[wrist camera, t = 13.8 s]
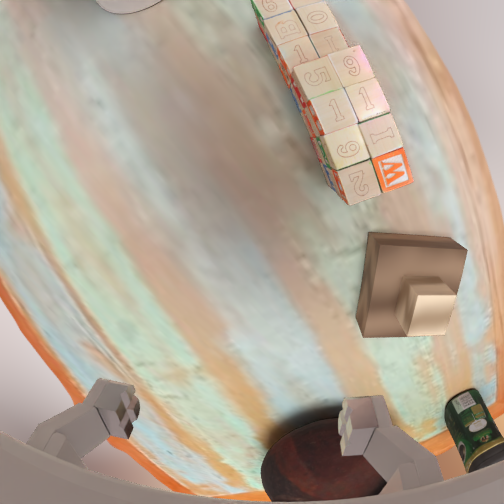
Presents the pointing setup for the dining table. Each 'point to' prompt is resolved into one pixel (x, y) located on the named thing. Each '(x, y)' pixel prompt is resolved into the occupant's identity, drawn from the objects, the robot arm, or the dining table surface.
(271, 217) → the dining table surface
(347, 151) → the stack of blocks
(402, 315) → the beige wooden cube
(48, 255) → the dining table surface
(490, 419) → the coffee jar
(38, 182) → the dining table surface
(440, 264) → the walnut block
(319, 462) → the jug
